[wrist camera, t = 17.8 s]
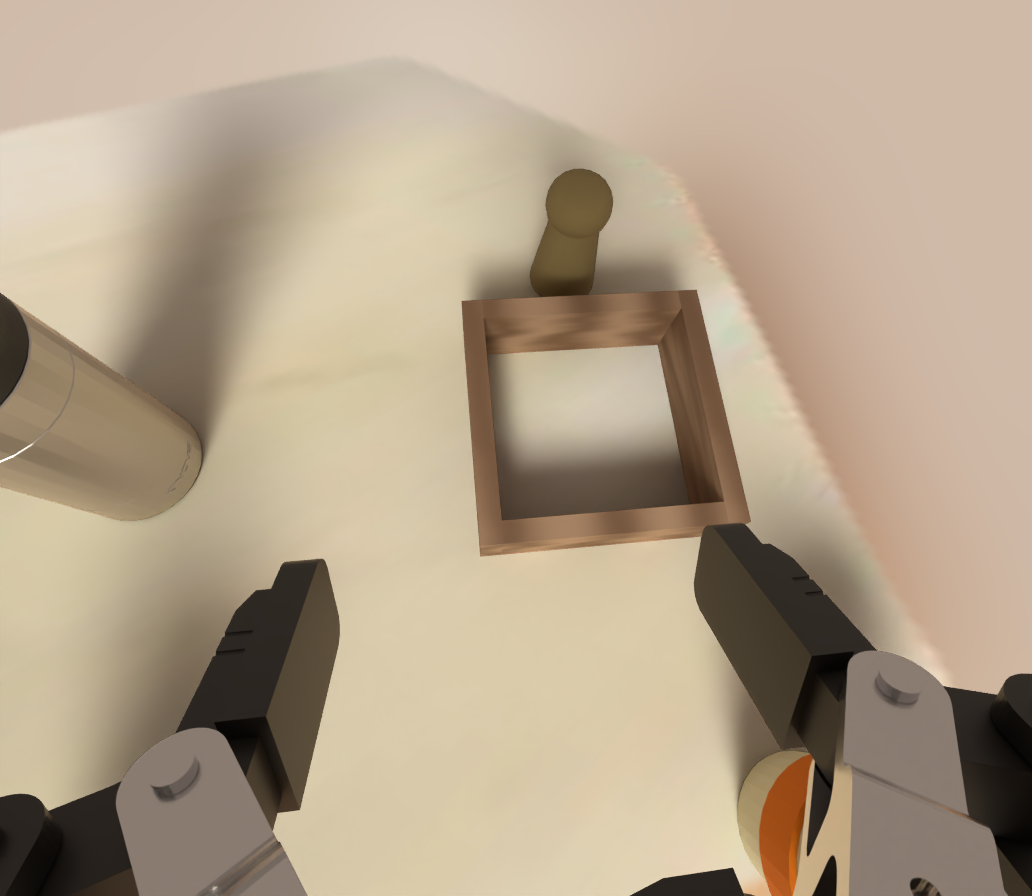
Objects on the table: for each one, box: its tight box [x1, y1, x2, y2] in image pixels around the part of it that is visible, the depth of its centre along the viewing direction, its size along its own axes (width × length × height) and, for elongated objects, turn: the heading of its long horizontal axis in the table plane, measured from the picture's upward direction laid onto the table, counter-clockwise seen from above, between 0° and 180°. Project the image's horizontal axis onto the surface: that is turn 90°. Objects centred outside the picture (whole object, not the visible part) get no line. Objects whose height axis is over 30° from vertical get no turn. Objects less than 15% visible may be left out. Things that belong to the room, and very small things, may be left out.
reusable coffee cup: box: [738, 750, 1008, 896], centre depth 30 cm, size 13×13×15 cm
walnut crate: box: [462, 290, 751, 556], centre depth 43 cm, size 19×19×6 cm
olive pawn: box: [530, 169, 613, 297], centre depth 45 cm, size 6×6×11 cm
